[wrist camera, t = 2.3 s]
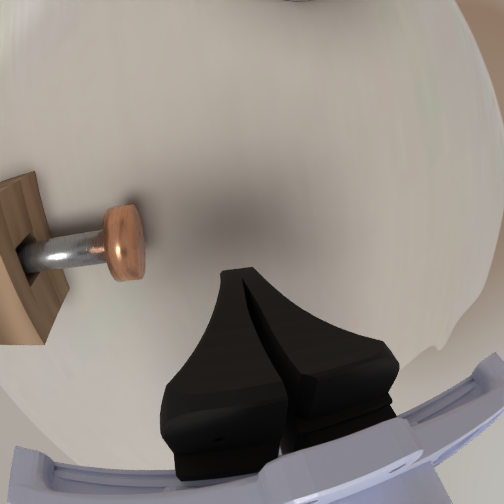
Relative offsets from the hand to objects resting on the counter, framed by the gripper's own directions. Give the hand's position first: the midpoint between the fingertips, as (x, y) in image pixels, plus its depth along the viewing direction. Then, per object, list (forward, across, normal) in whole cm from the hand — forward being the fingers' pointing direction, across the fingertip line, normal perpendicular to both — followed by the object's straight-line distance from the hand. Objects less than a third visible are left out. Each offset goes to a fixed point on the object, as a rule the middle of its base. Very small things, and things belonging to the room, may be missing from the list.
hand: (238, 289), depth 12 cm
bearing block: (+9, +16, 0) cm, 19 cm away
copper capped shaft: (+8, +11, 0) cm, 13 cm away
